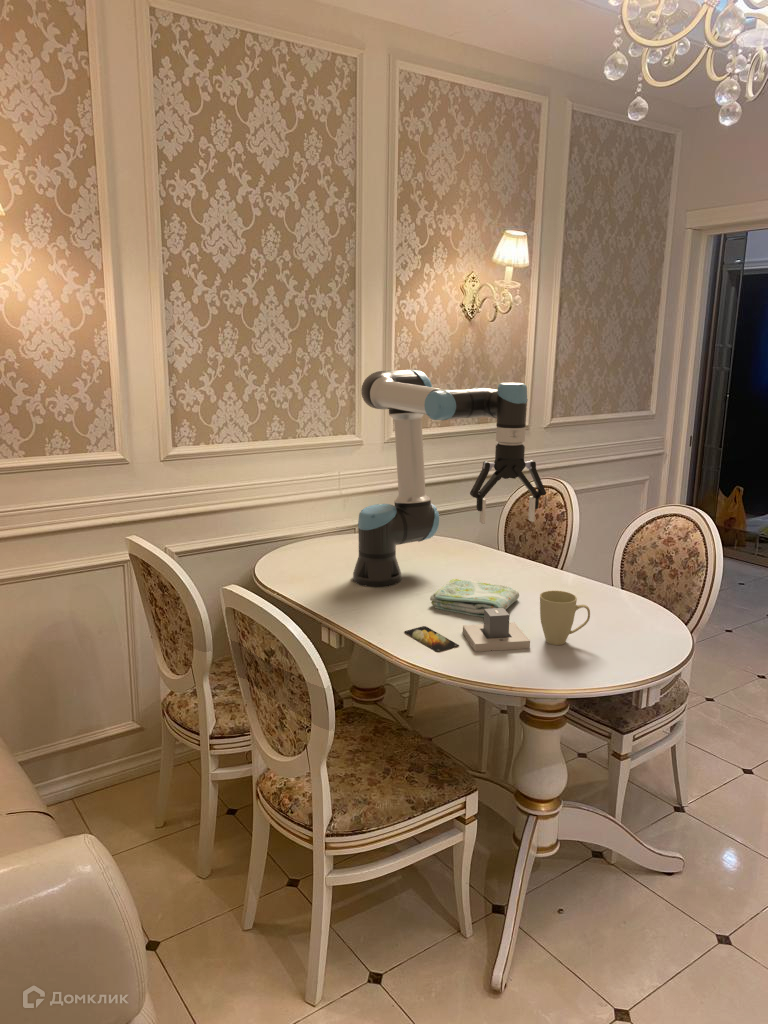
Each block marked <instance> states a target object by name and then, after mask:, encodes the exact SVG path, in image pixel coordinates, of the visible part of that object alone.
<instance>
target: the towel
mask: <svg viewBox="0 0 768 1024" xmlns="http://www.w3.org/2000/svg"><path fill="white" fill-rule="evenodd" d="M519 597H520V593H519V591H518V590H516V589H514V588H512V587H510V586H505V585H501V584H500V585H499V584H491V583H487V582H482V581H481V582H480V581H475V580H474V581H472V580H466V579H460V578H452V579H450V580H449V581H448V582H446V583H445V584H444V585H443V586H442V587H441V588H439V589H438V590H436V591H435V592H433V594H431V596H430V597H429V600H430V601H431V606H432V605H433V607H434V609H436V610H437V609H438V610H441V611H447V612H453V613H459V614H464V615H467V616H468V615H469V616H473V615H474V616H475V617H480V618H484V609H492V608H504V609H505V610H506V611H507V609H509V607H511V605H513V603H515V602H516V601H518V599H519ZM474 616H473V617H474Z"/></svg>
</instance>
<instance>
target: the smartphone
mask: <svg viewBox="0 0 768 1024" xmlns="http://www.w3.org/2000/svg"><path fill="white" fill-rule="evenodd" d="M403 633H404V634H405V635H407V636H408V637H410V638H411V639H413V640H415V641H417V642H419V644H422V645H423V646H425V647H427V648H429V649H430V650H433V651H434V652H435V653H443V652H447V651H450V650H453V648H454V649H457V648H460V645H459V644H458V643H456V642H454V641H453V640H452V639H449V638H448V637H445V636H444V635H442V634H441V633H439V632H437V631H435V630H433V629H432V628H430V627H428V626H425V625H422V626H419V627H414V628H412V629H409V630H408V629H407V630H404V631H403Z"/></svg>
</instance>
